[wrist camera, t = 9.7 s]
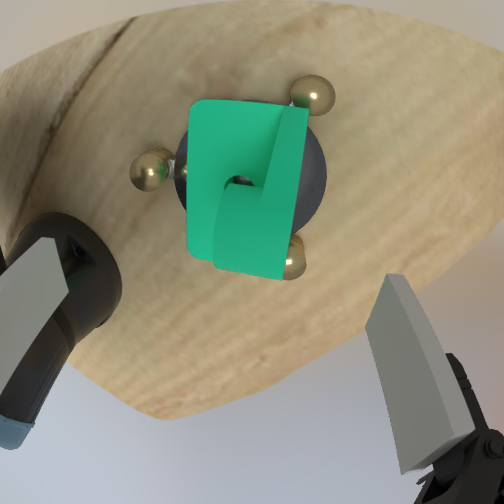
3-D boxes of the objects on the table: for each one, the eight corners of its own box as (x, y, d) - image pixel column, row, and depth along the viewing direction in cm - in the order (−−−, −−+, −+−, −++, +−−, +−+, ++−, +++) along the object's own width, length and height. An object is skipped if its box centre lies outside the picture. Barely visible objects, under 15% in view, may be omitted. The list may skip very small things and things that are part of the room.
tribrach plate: (149, 246, 29) (137, 262, 26) (145, 70, 20) (129, 69, 18) (305, 263, 29) (308, 282, 26) (336, 81, 20) (344, 80, 18)
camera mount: (203, 98, 20) (123, 107, 11) (309, 108, 19) (307, 118, 10) (198, 241, 26) (142, 320, 17) (286, 257, 25) (268, 350, 16)
